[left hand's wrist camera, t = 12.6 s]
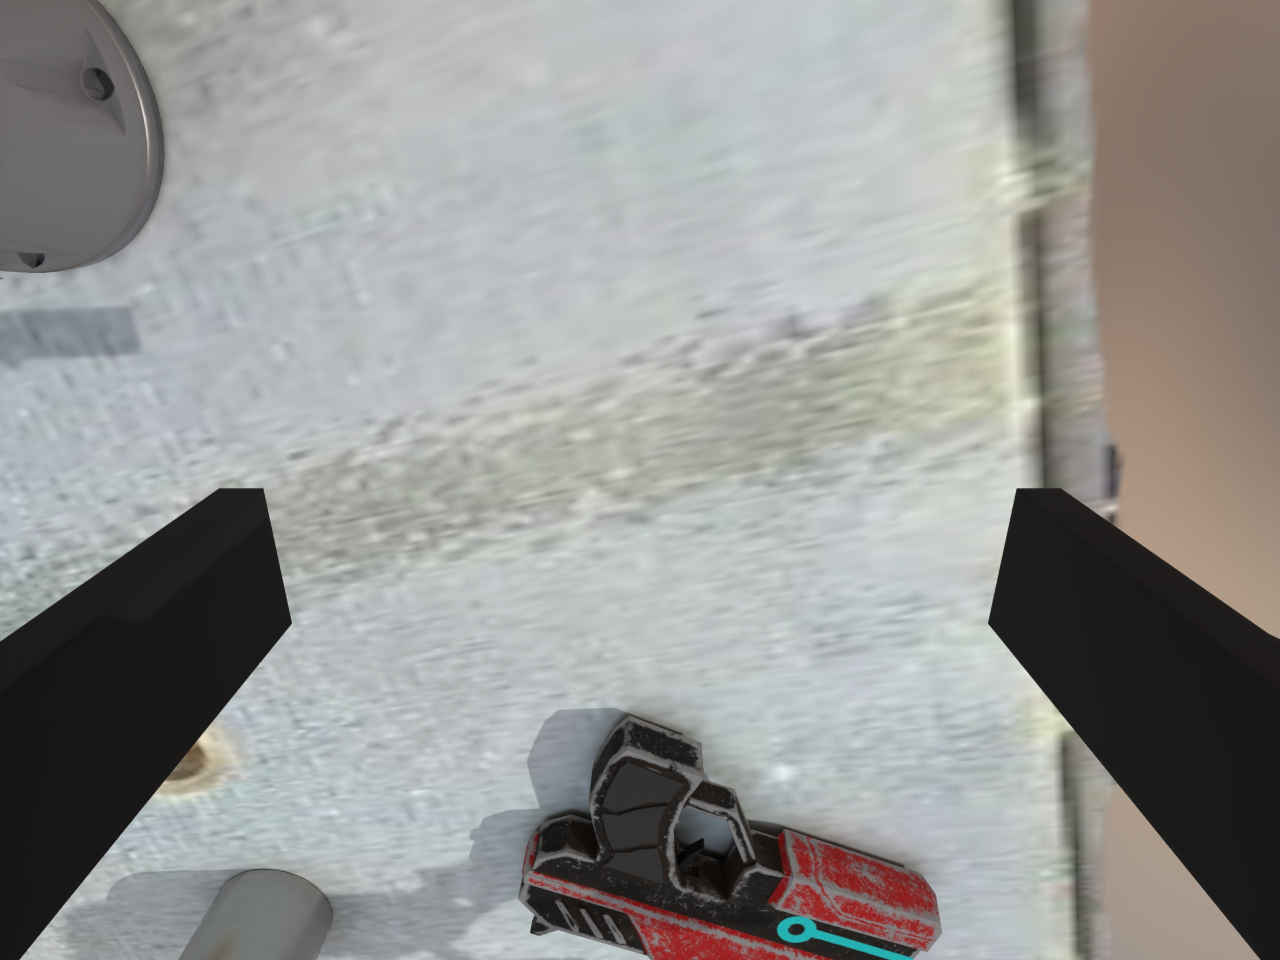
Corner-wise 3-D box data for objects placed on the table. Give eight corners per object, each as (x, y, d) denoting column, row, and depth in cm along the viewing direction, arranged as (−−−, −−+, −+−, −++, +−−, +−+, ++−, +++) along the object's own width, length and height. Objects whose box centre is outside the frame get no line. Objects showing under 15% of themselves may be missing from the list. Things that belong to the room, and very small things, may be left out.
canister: (257, 959, 60) (208, 1059, 53) (194, 886, 57) (133, 983, 50) (353, 931, 59) (315, 1030, 52) (294, 856, 55) (245, 951, 49)
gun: (585, 744, 45) (496, 932, 53) (1006, 878, 49) (870, 1037, 56) (591, 696, 50) (508, 877, 57) (979, 824, 53) (856, 978, 61)
